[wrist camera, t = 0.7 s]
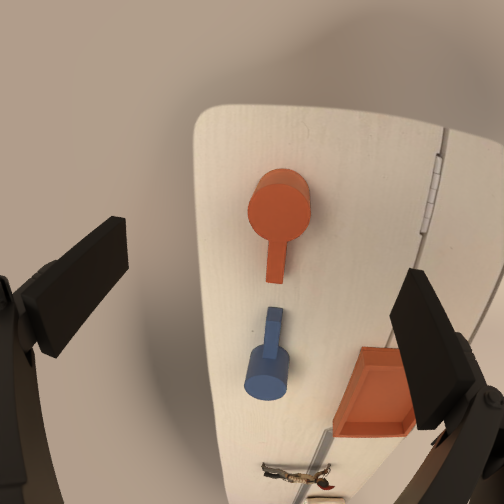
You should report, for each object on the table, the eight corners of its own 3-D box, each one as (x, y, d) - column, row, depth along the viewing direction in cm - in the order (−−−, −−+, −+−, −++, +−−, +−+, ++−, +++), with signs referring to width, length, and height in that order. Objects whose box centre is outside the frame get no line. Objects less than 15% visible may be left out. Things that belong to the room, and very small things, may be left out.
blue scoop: (253, 304, 35) (246, 335, 31) (297, 309, 35) (295, 341, 30) (249, 367, 40) (243, 397, 36) (287, 372, 40) (283, 402, 35)
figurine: (274, 455, 58) (344, 464, 50) (273, 471, 56) (342, 481, 49) (260, 462, 53) (335, 474, 45) (259, 479, 52) (333, 492, 44)
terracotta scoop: (299, 273, 33) (298, 302, 28) (252, 267, 33) (244, 296, 29) (312, 171, 28) (313, 187, 23) (257, 166, 28) (248, 181, 24)
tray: (361, 346, 36) (364, 365, 33) (447, 349, 35) (453, 366, 32) (332, 420, 44) (332, 437, 41) (403, 421, 43) (406, 436, 40)
